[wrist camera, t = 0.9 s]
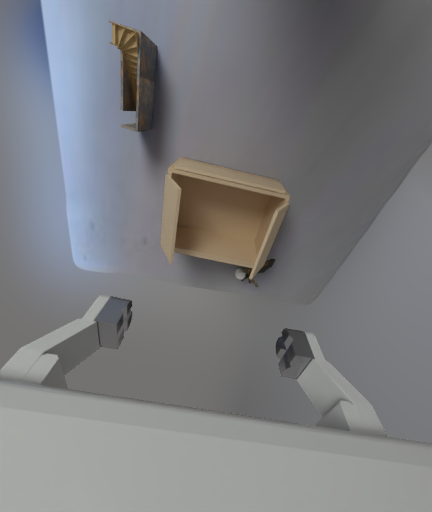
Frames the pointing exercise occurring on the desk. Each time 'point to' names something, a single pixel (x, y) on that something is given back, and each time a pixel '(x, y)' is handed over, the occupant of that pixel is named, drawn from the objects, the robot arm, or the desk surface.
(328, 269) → the desk surface
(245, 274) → the eagle figurine
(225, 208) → the carton
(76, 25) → the desk surface
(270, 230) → the flap
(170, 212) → the flap
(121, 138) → the desk surface
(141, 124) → the miniature staircase model
